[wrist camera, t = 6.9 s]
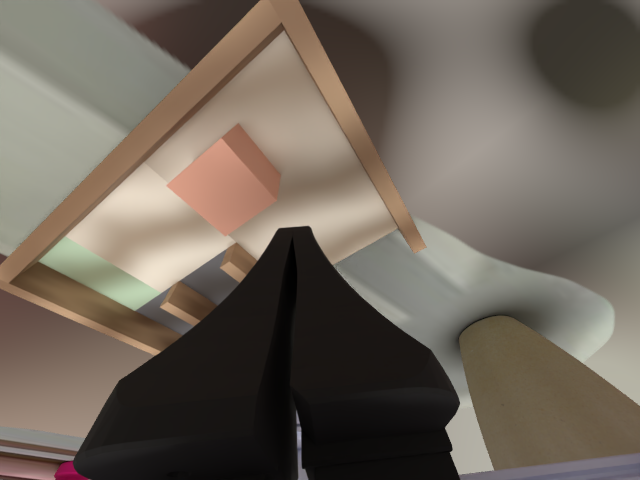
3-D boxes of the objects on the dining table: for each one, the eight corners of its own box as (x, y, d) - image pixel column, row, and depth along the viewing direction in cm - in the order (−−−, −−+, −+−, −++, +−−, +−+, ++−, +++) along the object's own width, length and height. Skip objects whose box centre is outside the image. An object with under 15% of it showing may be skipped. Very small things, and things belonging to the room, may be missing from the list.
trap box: (411, 226, 21) (426, 247, 18) (197, 343, 28) (188, 370, 25) (287, -6, 12) (285, -25, 9) (23, 254, 19) (-16, 281, 17)
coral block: (280, 175, 16) (276, 200, 13) (238, 205, 18) (225, 236, 14) (238, 122, 14) (221, 137, 11) (193, 161, 15) (165, 185, 12)
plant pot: (410, 336, 31) (493, 530, 18) (529, 275, 26) (768, 483, 13) (456, 372, 38) (539, 529, 25) (557, 329, 33) (728, 499, 20)
